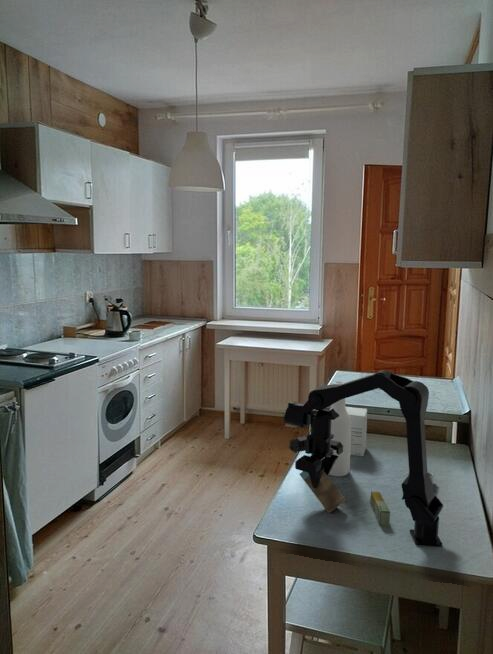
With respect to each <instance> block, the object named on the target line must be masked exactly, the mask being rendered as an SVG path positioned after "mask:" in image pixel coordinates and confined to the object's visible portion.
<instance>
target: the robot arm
mask: <svg viewBox="0 0 493 654" xmlns="http://www.w3.org/2000/svg"><path fill="white" fill-rule="evenodd" d="M377 389H379V390H382V391H383V392H384V393H385V394H387V396H388V397H390V398H392V399H393V400H395V401H397V402H398V404H399V408H400V411H401V414H402V416H403V417H404V420H405V427H406V444H407V446H406V447H407V457H408V458H407V459H408V474H409V475H407V477H406V478H405V479H404V480H403V482H402V483H401V490H402V498H401V500H404V505H405V507H406V508H407V509H409V511H410V514H411V518H412V522H414V525H413V527H414V528H413V529H409V534H410V536H411V538H412V539H413V541H414V544H415V545H416V546H423V547H427V546H428V547H443V542H442V541H441V539H440V537H439V525H440V516H439V514H440V513H441V512H442V510H443V508H444V504H443V503H442V502H441V500H440V499H439V498H438V496H437V495H436V493H435V488H434V484H433V483H432V481H431V479H430V477H429V475H428V472H429V471H428V460H427V442H426V441H427V440H426V429H425V428H426V427H425V426H426V423H425V416H426V413H427V409H428V405H429V404H428V403H429V395H430V391H429V388H428V386H427V385H425V384H424V383H423V382H421V381H419V380H418V381H417V380H416V381H415V380H411V379H409V378H407V377H405V376H402V375H398V374H395V373H393V372H391V371H389V370H386V369H382V370H379V371H378V372H375V373H373V374H369V375H366V376H362V377H360V378H357V379H353V380H351V381H347V382H344V384H333V383H332V384H326V385H320V386H319V387H317V388H315V389H313V390H312V391H310V392H309V393H308V397H307V401H306V402H305V403H299V402H297V401H295V400H294V401H293V400H291V401H290V402H288V404H287V407H286V410H285V413H284V416H283V420H284V421H283V422H284V423H285V425H287V426H292V427H297V428H301V429H306V428H307V427H308V426H309V427H310V429H309V430H310V433H309V434H307V435H306V436H298V437H296V438H292V439H291V440H289V449H290V451H291V452H293V453H294V454H296V453H300V452H305V454H306V455H305V454H304V455H302V456H301V457H300V458H298V459H296V460H295V461H294V462H295V463H294V465H295V466H294V467H295V469H296V470H299V471H301V472H303V471H304V472H308V474H309V476H310V480H311V483H312V486H313V488H317V487H318V484H319V482H320V479H321V476H322V474H323V471H324V472H325V473H326V474H327V476H328V477H329V476H330V475H329V473H330V471H331V469H332V467H333V465H334V463H335V461H336V460H337V458H338V456H337V455H334V453H333V450H336V453H337V454H339V455H340V454H341V453H342V452H343V445H342V444H341V442H337V441H333V440H331V439H333V438H334V434H331V421H332V420H335V419H336V418H338V417H339V414H338V413H337V412H335V410H334V409H331V410H330V409H329V410H330V411H329V410H327V408H328V407H331V405H332V404H334V403H336V402H338V401H339V400H341V399H344V398H345V399H347V398H348V399H349V398H350V397H353V396H358V395H360V394H364V393H367V392H370V391H371V392H372V391H375V390H377ZM307 454H310V456H309V455H307Z"/></svg>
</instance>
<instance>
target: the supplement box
mask: <svg viewBox="0 0 493 654" xmlns="http://www.w3.org/2000/svg"><path fill="white" fill-rule="evenodd" d="M345 407H346V411H347V412H348V414H349V415H350V417H351V421H352V425H351V450H350V456H355V457H357V456H358V457H365V452H366V449H367V429H368V425H367V422H368V408H364V407H363V408H361V407H360V408H359V407H351V406H345Z"/></svg>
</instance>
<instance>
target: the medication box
mask: <svg viewBox="0 0 493 654" xmlns="http://www.w3.org/2000/svg"><path fill="white" fill-rule="evenodd" d="M369 505H370V507H371V509H372V512H373V515H374V516H375V519H376V520H377V523H378V524H379V526H383V527H385V526H387V527H389V525H390V518H391V511H390V509H389V507H388V505H387V503H386V501H385V498H383V495H382V493H381V491H371V492H370V499H369Z"/></svg>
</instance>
